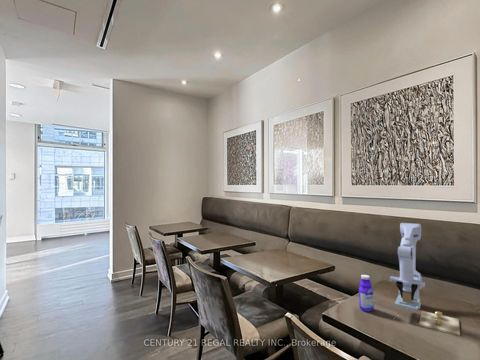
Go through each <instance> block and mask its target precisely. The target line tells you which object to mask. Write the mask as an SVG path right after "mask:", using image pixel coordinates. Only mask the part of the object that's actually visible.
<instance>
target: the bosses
mask: <svg viewBox="0 0 480 360" xmlns="http://www.w3.org/2000/svg"><path fill="white" fill-rule="evenodd" d="M434 314H436V315H437V318H436V317H435V318H434V320H435V321H436V325H439V326H440V322H442V319H440V315H443V312H442V311H439V310H435V311H434Z"/></svg>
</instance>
